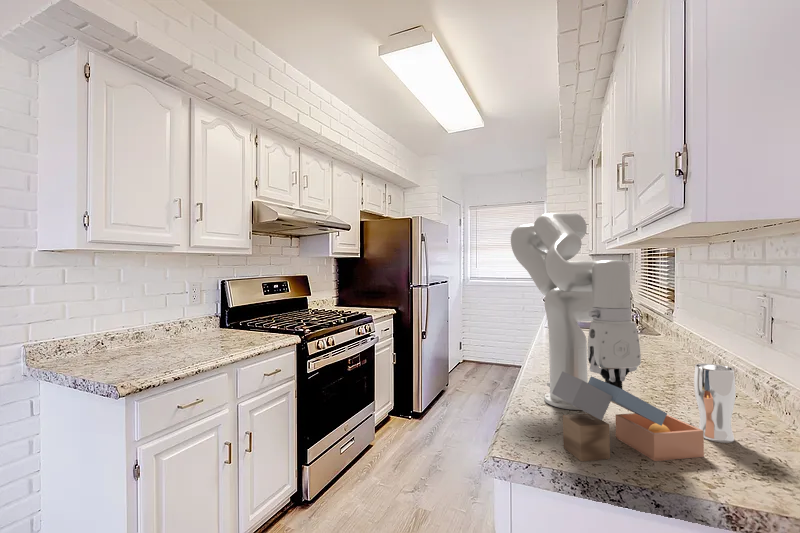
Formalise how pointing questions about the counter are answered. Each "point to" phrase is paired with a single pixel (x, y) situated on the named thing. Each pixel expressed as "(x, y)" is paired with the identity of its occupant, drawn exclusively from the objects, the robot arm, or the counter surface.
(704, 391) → the beer glass
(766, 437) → the counter surface
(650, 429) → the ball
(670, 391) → the counter surface
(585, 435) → the pedestal
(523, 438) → the counter surface
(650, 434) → the shallow terracotta crate
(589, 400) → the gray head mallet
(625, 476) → the counter surface
